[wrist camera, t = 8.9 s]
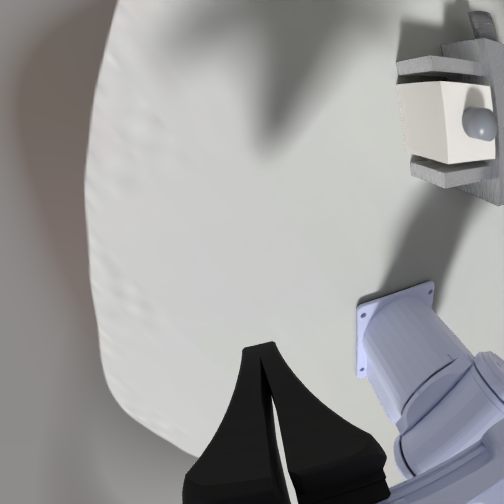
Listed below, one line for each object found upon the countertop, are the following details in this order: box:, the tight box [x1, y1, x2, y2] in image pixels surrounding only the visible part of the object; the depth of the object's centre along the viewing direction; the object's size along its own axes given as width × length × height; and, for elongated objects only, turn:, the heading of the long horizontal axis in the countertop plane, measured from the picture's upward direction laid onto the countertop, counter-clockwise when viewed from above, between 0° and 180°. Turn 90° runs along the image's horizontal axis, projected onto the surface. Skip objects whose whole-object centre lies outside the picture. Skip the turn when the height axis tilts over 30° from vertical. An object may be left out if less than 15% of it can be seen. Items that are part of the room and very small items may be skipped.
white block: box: [396, 81, 498, 164], centre depth 15 cm, size 5×5×6 cm
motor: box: [396, 11, 504, 206], centre depth 15 cm, size 15×12×5 cm
